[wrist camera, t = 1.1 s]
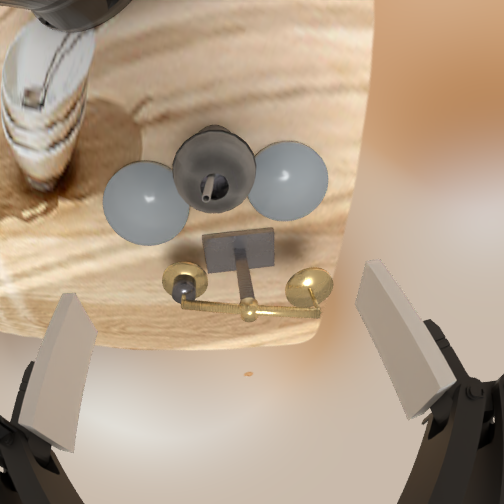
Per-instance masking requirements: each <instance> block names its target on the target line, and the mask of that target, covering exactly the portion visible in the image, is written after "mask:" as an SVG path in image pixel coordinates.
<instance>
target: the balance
mask: <svg viewBox="0 0 504 504" xmlns="http://www.w3.org/2000/svg"><path fill="white" fill-rule="evenodd" d="M202 240H203V246H204V252H205V257H206V263H207V269H208V273H217V272H226V271H235V270H236V271H237V278H238V286H239V293H240V300H241V301H240V304H233V303H220V302H208V301H197V300H195V298H197V297H199V296H201V295H202V294H203V293H204V292H205V291H206V289H207V286H208V278H207V275H206V273H205V271H204V270H203V269H202V268H201V267H200V266H198V265H196V264H194V263H191V262H177V263H174V264H172V265H170V266H169V267H168V268H167V269H166V270H165V271H164V274H163V278H162V283H163V287H164V289H165V290H166V291H167V292H168V293H169V294H170V295H171V296H172V297H173V299H174V300H175V301H176V302H178V303H180V304H181V308H182V309H186V310H195V311H205V312H216V313H228V314H241V318H242V320H243V321H245V322H253V321H255V320H256V319H257V318H258V316H271V317H290V318H316V319H320V314H321V313H322V312H321V310H320V307H319V305H318V304H319V303H321V302H322V301H324V300H325V299H326V298H327V297H328V296H329V295H330V293H331V291H332V289H333V280H332V278H331V276H330V274H329V273H328V272H327V271H326V270H324V269H321V268H315V267H313V268H307V269H304V270H301V271H299V272H297V273H296V274H295V275H293V276H292V277H291V278H290V280H289V281H288V282H287V285H286V288H285V293H286V297H287V299H288V301H289V302H290V303H291V304H292V305H294V306H296V307H283V306H264V305H258V302H257V300H256V299H255V297H254V292H253V287H252V282H251V276H250V271H249V269H252V268H261V267H269V266H274V230H273V228H263V229H254V230H244V231H235V232H226V233H217V234H208V235H203V239H202ZM311 306H315V308H306V307H311Z"/></svg>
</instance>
